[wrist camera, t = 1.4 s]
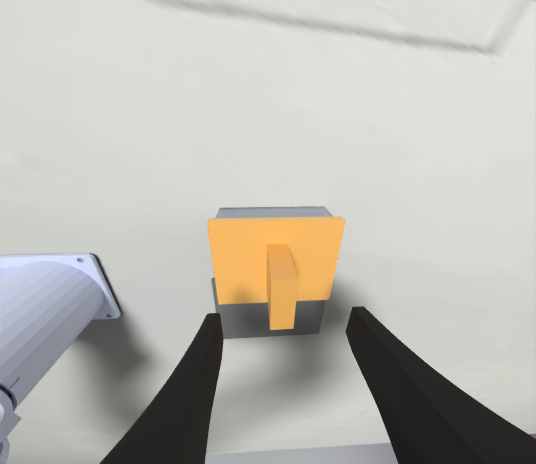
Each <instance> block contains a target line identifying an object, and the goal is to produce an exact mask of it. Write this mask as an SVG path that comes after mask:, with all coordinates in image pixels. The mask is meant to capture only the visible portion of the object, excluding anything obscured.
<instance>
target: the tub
mask: <svg viewBox="0 0 536 464" xmlns="http://www.w3.org/2000/svg"><path fill="white" fill-rule="evenodd" d="M280 217H333V216H332V215H331V214H330V212H329V211H328V210H327V209H326V208H325V207H255V208H220V209H219V211H218V214H217V216H216V218H215V219H220V218H280Z"/></svg>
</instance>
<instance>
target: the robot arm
mask: <svg viewBox="0 0 536 464" xmlns="http://www.w3.org/2000/svg"><path fill="white" fill-rule="evenodd" d="M82 259H83V260H82ZM120 315H121V313H120V311H119V308H118V306H117V304H116V302H115V300H114V298H113V295H112V293H111V291H110V289H109V287H108V285H107V282H106V280H105V278H104V276H103V274H102V272H101V270H100V267H99V265H98V263H97V261H96V259H95V257H94V256H93V255H92V254H88V253H83V254H46V255H9V256H0V464H6V461H7V459H8V455H9V451H10V443H9V441H8V439H7V438H6V437H7V436H8V435H9V433H10V432H11V431H12V430H13V428H14V427H15V426H16V425H17V423H18V422H19V421H20V420H21V417H19V416H18V415H17V414H16V413H15V412H14V410H15V409H16V408H17V407H18V406H19V405H20V403H21V402H22V401H23V400H24V399H25V398H26V396H27V395H28V394H29V393H30V392H31V391H32V389H33V388H34V387H35V386H36V385H37V384H38V382H39V381H40V380H41V379H42V378H43V376H44V375H45V374H46V373H47V372H48V371H49V369H50V368H51V367H52V366H53V365H54V364H55V362H56V361H57V360H58V359H59V358H60V357H61V355H62V354H63V353H64V352H65V351H66V350H67V348H68V347H69V346H70V345H71V344H72V342H73V341H74V340H75V339H76V338H77V337H78V335H79V334H80V333H81V332H82V331H83V330H84V328H85V327H86V326H87V325H88V324H89V323H90V321H91V320H99V319H116V318H118V317H119V316H120ZM346 335H347V338H348V341H349V344H350V347H351V349H352V352H353V354H354V357H355V359H356V361H357V363H358V365H359V368H360V370H361V372H362V374H363V376H364V378H365V380H366V383H367V385H368V387H369V389H370V391H371V393H372V395H373V398H374V400H375V402H376V404H377V407H378V409H379V412H380V414H381V417H382V420H383V422H384V425H385V428H386V430H387V433H388V436H389V438H390V441H391V444H392V447H393V450H394V452H395V455H396V458H397V461H398V464H536V439H535V438H533V437H532V436H530V435H529V434H527V433H525V432H524V431H522V430H521V429H519V428H517V427H516V426H514V425H513V424H511V423H510V422H508V421H506V420H505V419H503V418H502V417H500V416H499V415H497V414H496V413H494V412H493V411H491V410H490V409H488V408H487V407H485V406H484V405H482V404H481V403H479V402H478V401H477V400H475V399H474V398H472V397H471V396H469V395H468V394H466V393H465V392H464V391H462V390H461V389H460V388H458V387H457V386H455V385H454V384H453V383H451V382H450V381H449V380H447V379H446V378H445V377H443V376H442V375H441V374H440V373H438V372H437V371H436V370H434V369H433V368H432V367H431V366H429V365H428V364H427V363H426V362H424V361H423V360H422V359H421V358H420V357H418V356H417V355H416V354H415V353H414V352H412V351H411V350H410V349H409V348H408V347H407V346H406V345H404V344H403V343H402V342H401V341H400V340H399V339H398V338H397V337H396V336H394V335H393V334H392V333H391V332H390V331H389V330H388V329H387V328H386V327H385V326H384V325H383V324H382V323H380V322H379V321H378V320H377V319H376V318H375V317H374V316H373V315H372V314H371V313H370V312H369V311H368V310H367V309H366V308H364V307H352V311H351V314H350V318H349V321H348V325H347V328H346ZM223 339H224V338H223V331H222V323H221V316H220V313H210V314H207V315H206V317H205V319H204V321H203V323H202V325H201V327H200V329H199V331H198V333H197V334H196V336H195V338H194V340H193V341H192V343H191V345H190V346H189V348H188V350H187V351H186V353H185V355H184V356H183V358H182V359H181V361H180V362H179V364H178V365H177V367H176V368H175V370H174V371H173V373H172V374H171V376H170V377H169V379H168V380H167V381H166V383H165V384H164V386H163V387H162V388H161V390H160V391H159V393H158V394H157V395H156V397H155V398H154V399H153V401H152V402H151V403H150V404H149V406H148V407H147V408H146V409H145V411H144V412H143V413H142V414H141V416H140V417H139V418H138V419H137V421H136V422H135V423H134V424H133V426H132V427H131V428H130V429H129V430H128V432H127V433H126V434H125V435H124V436H123V438H122V439H121V440H120V441H119V442H118V443H117V444H116V446H115V447H114V448H113V449H112V450H111V451H110V452H109V454H108V455H107V456H106V457H105V458H104V459H103V460H102V461H101V463H100V464H205V456H206V447H207V439H208V431H209V423H210V417H211V411H212V406H213V401H214V396H215V391H216V386H217V380H218V375H219V370H220V365H221V360H222V350H223Z"/></svg>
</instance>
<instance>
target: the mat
mask: <svg viewBox="0 0 536 464" xmlns="http://www.w3.org/2000/svg"><path fill="white" fill-rule="evenodd" d="M212 287H213V293H214V300H215V307H216V313H220V316H221V323H222V331H223V338H224V339H231V338H249V337H267V336H285V335H302V334H318V333H319V327H320V322H321V317H322V312H323V307H324V301H325V300H309V301H296V308H295V318H294V327H293V329H280V330H270V322H269V311H268V302H265V303H243V304H220V305H218V298H217V290H216V283H215V278H212Z"/></svg>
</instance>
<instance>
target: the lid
mask: <svg viewBox="0 0 536 464" xmlns="http://www.w3.org/2000/svg"><path fill="white" fill-rule="evenodd" d="M344 225H345V219H344V218H343V217H342V216H340V217H280V218H220V219H209V220H208V222H207V227H208V234H209V241H210V248H211V255H212V262H213V269H214V276H215V283H216V290H217V298H218V305H220V304H243V303H265V302H268V311H269V322H270V330H280V329H293V327H294V318H295V308H296V301H309V300H329V298H330V293H331V288H332V283H333V279H334V274H335V269H336V264H337V259H338V254H339V249H340V244H341V240H342V235H343V230H344Z"/></svg>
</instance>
